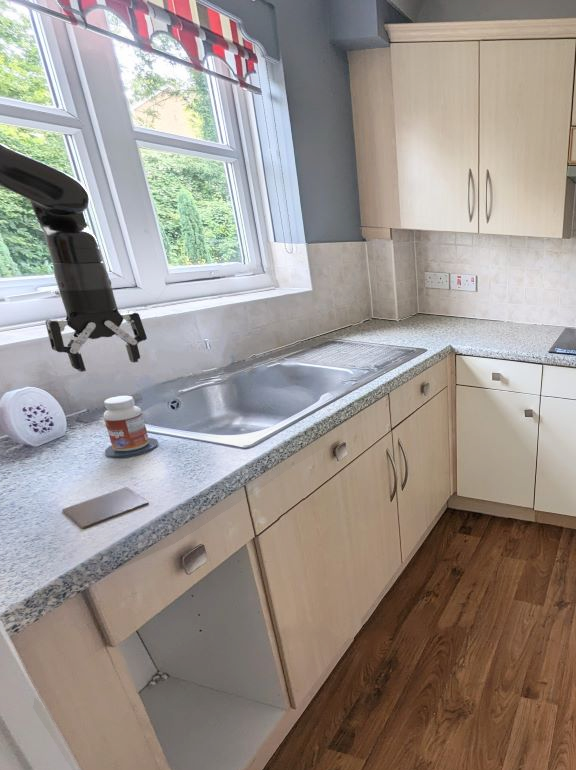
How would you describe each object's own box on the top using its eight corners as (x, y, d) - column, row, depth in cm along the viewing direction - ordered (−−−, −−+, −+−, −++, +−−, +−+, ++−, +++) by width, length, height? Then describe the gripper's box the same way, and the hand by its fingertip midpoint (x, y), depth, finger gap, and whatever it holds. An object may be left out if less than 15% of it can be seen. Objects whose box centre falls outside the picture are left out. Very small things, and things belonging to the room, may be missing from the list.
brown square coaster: (82, 529, 74) (82, 527, 74) (62, 511, 78) (61, 509, 78) (149, 504, 81) (148, 502, 81) (127, 488, 85) (126, 486, 85)
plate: (115, 462, 94) (114, 459, 94) (98, 450, 99) (97, 448, 98) (166, 446, 102) (165, 444, 101) (147, 436, 106) (147, 434, 106)
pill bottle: (106, 449, 98) (91, 401, 94) (136, 438, 103) (124, 392, 100) (126, 454, 96) (112, 406, 92) (156, 442, 102) (144, 396, 98)
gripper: (122, 282, 95) (142, 356, 101) (27, 287, 84) (55, 370, 90) (138, 285, 92) (158, 362, 98) (41, 291, 80) (69, 377, 86)
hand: (108, 366), depth 94 cm, fingers open, 8 cm apart
